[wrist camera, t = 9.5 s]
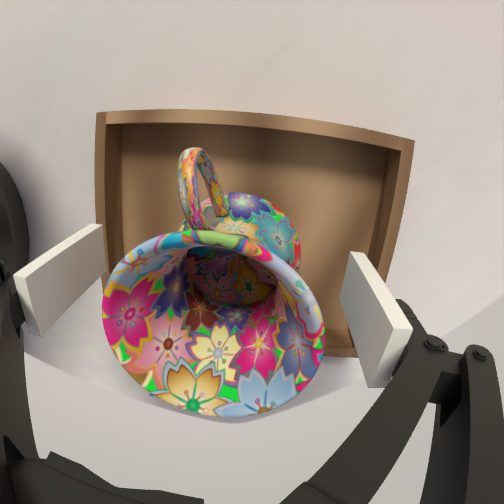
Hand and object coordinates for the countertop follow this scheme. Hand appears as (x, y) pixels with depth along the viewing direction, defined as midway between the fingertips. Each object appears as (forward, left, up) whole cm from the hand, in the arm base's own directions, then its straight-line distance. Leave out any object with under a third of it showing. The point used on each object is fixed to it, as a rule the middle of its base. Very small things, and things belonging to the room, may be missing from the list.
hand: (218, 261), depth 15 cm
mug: (0, 0, -6) cm, 6 cm away
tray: (0, 0, -7) cm, 7 cm away
